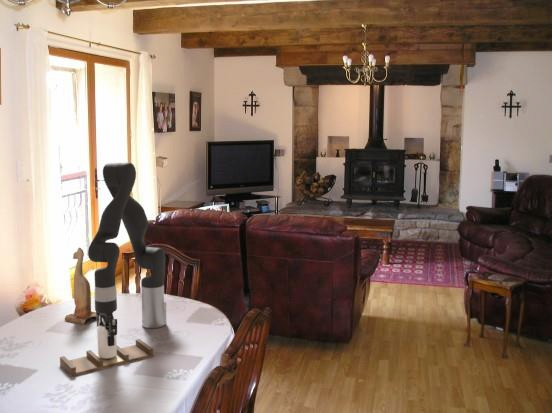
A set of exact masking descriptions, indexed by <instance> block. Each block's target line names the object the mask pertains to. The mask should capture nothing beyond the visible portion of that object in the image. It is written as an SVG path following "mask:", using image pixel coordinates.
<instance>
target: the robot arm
mask: <svg viewBox="0 0 552 413" xmlns="http://www.w3.org/2000/svg"><path fill="white" fill-rule="evenodd" d="M102 177H103V181H104V183H105V186H106V187H107V188H106V189H108V191H109V193H110V195H111V196H112V200H111V201H110V202H109V203H108V204H107V205H106V207H105V209H104V210H103V212H102V214H101V217H100V220H99V221H100V223H99V227H98V230H97V231H96V234H95V236H94V237H93V239H92V240H91V242H90V244H89V246H88V248H87V249H88V250H87V255H88V256H87V257H88V259H89V260H90V261H92V262H94V263H107V265H106V267H100V268H97V269H96V270H95V271H94V312H96V316H95V317H96V319H95V320H96V327H97V328H98V326H99V325H98V324H99V323H100V324H101V322H102V324H103V325H104V328H105V330H107V338H108V346H114V335H116V336H117V335H118V318H115V317H114V314H113V313H114V312H116V311H117V309H118V301H117V300H118V299H117V296H118V295H117V293H118V292H117V286H116V285H117V284H116V272H117V265H118V261H119V257H120V255H121V254H120V252H121V251H120V247H119V245H118V243H116V242H111V240H113V239H116V238H117V237H118V236H119V233H120V232H119V231H120V227H121V223H123V226H124V227H125V230H126V233H127V235H128V238H129V241H130V244H131V247H132V250H133V254H134V258H135V262H136V264H137V266H138V267H139V268H140V269H144V270H150V271H151V275H148V276H145V277H143V278H141V281H140V284H141V286H140V287H141V288H140V289H141V290H140V291H141V323H142V324H141V325H142V327H143V328H146V329H157V328H161V327H163V326H165V325H167V324H168V323H167V322H168V321H167V302H165V284H164V283H165V276H166V253H165V250H164V249H163V248H161V247H153V246H152V247H151V246H148V245H147V244H146V242H145V238H144V237H145V234H146V232H147V229H148V226H149V220H148V217H147V215H146V212H145V209H144V207H143V206H142V205H141V204H140V203H139V202H138V201H137V200H136V199H134V197H132V196H131V194H132V191H133V188H134V186H135V183H136V178H137V172H136V167H135V165H134V164H133V163H132V162H129V161H124V162H123V161H122V162H119V161H118V162H109V163H105V165H104V166H103V168H102ZM108 241H110V242H108ZM107 326H109V327H107ZM114 329H115V331H114Z"/></svg>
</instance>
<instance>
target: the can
mask: <svg viewBox="0 0 552 413" xmlns="http://www.w3.org/2000/svg"><path fill="white" fill-rule="evenodd" d="M98 325H99V326H98V327H97V328H96V329H97V330H96V331H97V332H96V333H97V336H96V337H97V353H98V356H99V357H100V358H102V359H110V358H113V357H115V356H116V355H117V346H118V345H117V341H118V340H117V335H114V346H108V338H107V330H105V328H104V325H103V324H102V322H101V324H100V323H99V324H98ZM107 327H109V326H107ZM114 331H115V329H114Z"/></svg>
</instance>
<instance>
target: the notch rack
mask: <svg viewBox="0 0 552 413" xmlns="http://www.w3.org/2000/svg"><path fill="white" fill-rule="evenodd" d="M85 351H86V356H81V357H77V358H72V359H68V358H67V357H66V356H65V355H63V356H60V357H59V364H60V367H62V369H64V370H65V371H66V373H67V374H68V375H69V376H70V377H76V376H80V375H84V374H88V373H93V372H97V371H100V370H101V371H102V370H105V369H108V368H113V367H116V366H117V367H118V366H121V365H125V364H129V363H132V362H136V361H140V360H145V359H149V358H153V357H154V348H153V347H152V346H150V345H149V344H147V343H146V342H145V341H143V340H142V339H140V338H137V339H135V344H133V345H128V346H125V347H124V346H123V347H120V346H119V345H117V355H116V356H115V357H113V358H110V359H102V358H100V357H99V356H98V352H97V353H95V352H93V351H92V350H91V349H90V350H85Z"/></svg>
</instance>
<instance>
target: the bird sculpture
mask: <svg viewBox="0 0 552 413" xmlns="http://www.w3.org/2000/svg"><path fill="white" fill-rule="evenodd" d="M72 256H73V257H72V259H73V260H77V262H76V264H75V269H74V275H73V300H74V305H75V308H74V311H73V313H70V314H67V315H65V317H64V321H65V322H69V323H74V324H77V325H84V326H85V323H86V321H87V320H88V319H90V318H93V317H96V311H92V291H91V284H90V282H89V280H88V279H87V277H86V276H85V275H84V274H83V273H84V272H83V264H84V256H85V254H84V250H83V249H82V248H81V247H78V248H77V250H76V251H75V252H74V253H73V255H72Z"/></svg>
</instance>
